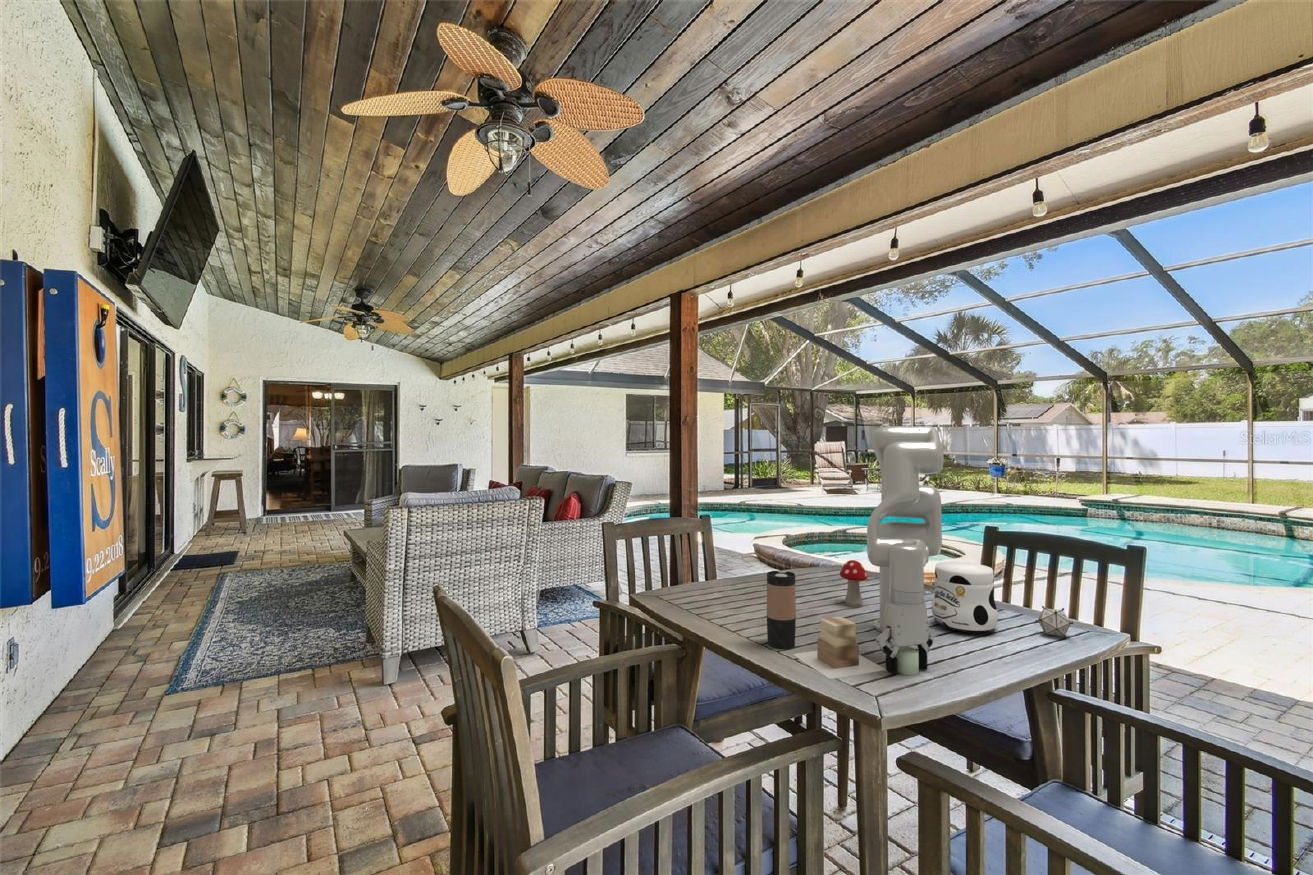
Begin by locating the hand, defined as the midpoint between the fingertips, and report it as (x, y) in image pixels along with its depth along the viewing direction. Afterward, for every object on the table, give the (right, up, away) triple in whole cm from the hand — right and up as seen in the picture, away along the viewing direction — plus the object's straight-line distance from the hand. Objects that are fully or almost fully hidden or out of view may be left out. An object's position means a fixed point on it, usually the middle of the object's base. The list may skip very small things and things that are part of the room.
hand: (906, 669), depth 136 cm
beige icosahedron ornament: (+53, -1, +27) cm, 60 cm away
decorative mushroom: (+7, -1, +57) cm, 58 cm away
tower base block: (-15, 0, +6) cm, 16 cm away
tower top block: (-15, +5, +6) cm, 16 cm away
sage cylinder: (0, -1, 0) cm, 1 cm away
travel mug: (-26, -2, +18) cm, 31 cm away
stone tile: (-15, -1, +6) cm, 16 cm away
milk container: (+32, -1, +34) cm, 47 cm away
